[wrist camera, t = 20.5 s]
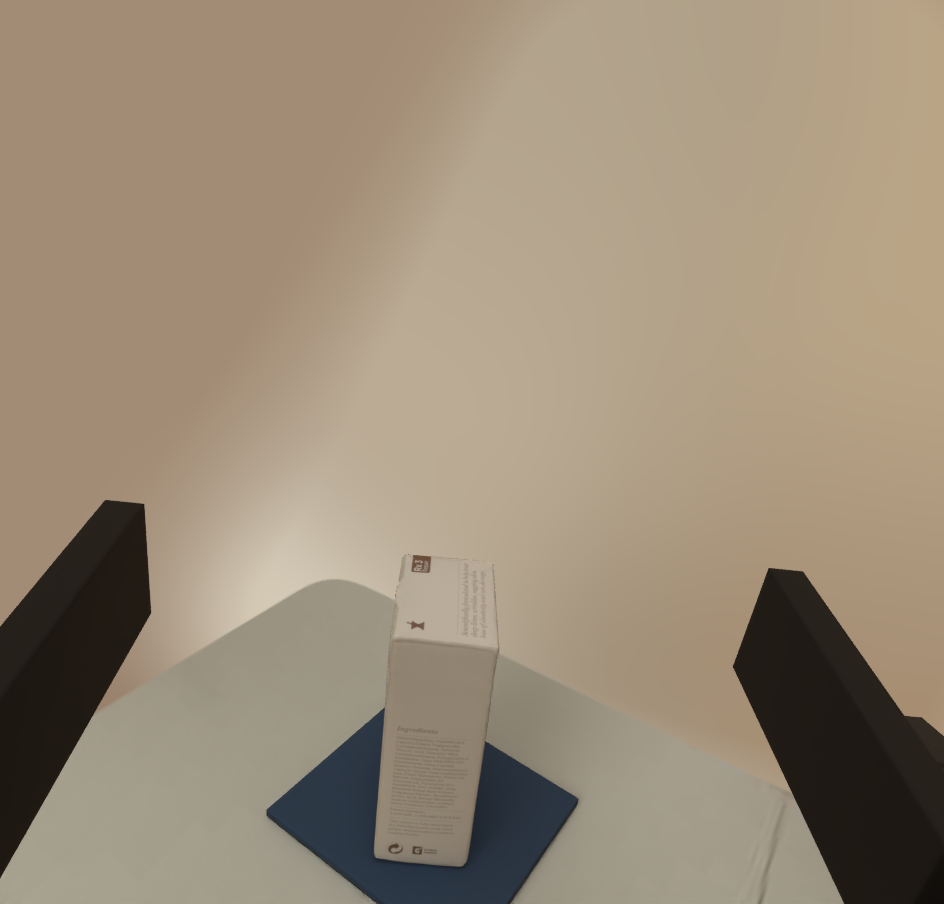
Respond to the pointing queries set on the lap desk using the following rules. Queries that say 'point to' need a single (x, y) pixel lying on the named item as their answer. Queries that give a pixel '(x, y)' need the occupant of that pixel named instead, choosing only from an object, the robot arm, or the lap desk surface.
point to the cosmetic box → (436, 709)
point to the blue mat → (414, 884)
